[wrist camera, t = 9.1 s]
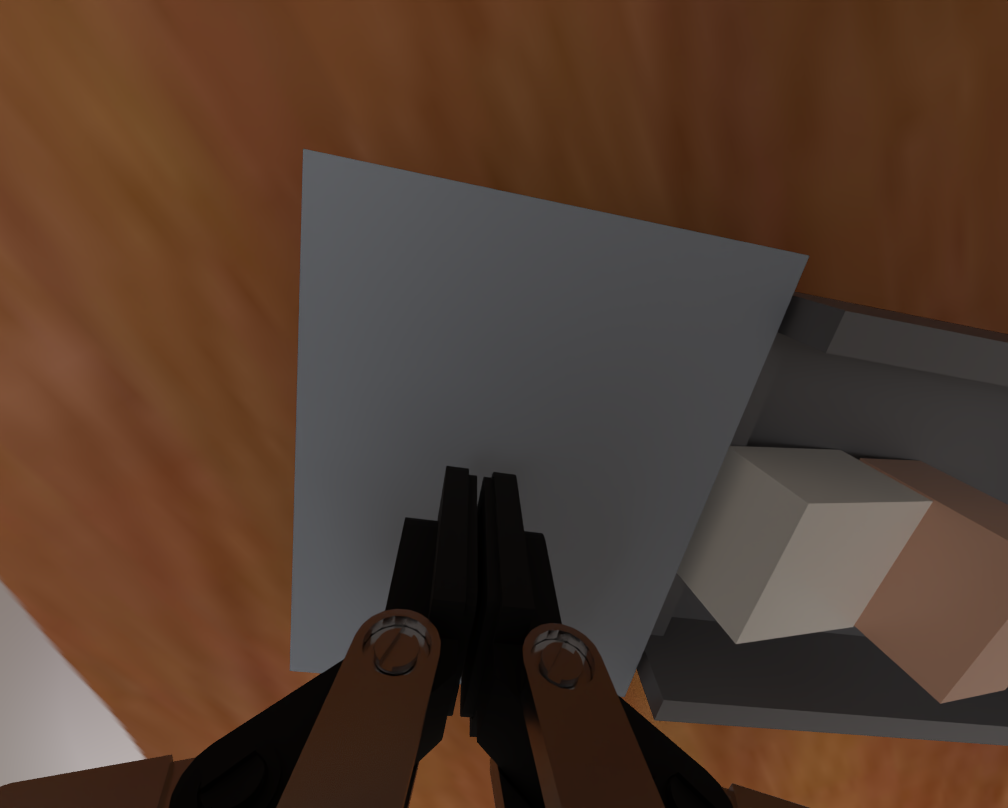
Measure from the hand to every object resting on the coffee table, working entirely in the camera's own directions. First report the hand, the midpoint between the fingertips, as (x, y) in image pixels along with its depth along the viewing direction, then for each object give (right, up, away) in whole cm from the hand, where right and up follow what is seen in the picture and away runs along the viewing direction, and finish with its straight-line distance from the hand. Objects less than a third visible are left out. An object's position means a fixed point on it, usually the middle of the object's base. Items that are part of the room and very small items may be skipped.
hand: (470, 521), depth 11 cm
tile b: (+13, -2, +3) cm, 14 cm away
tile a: (+10, -1, +5) cm, 11 cm away
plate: (+1, +1, +5) cm, 5 cm away
